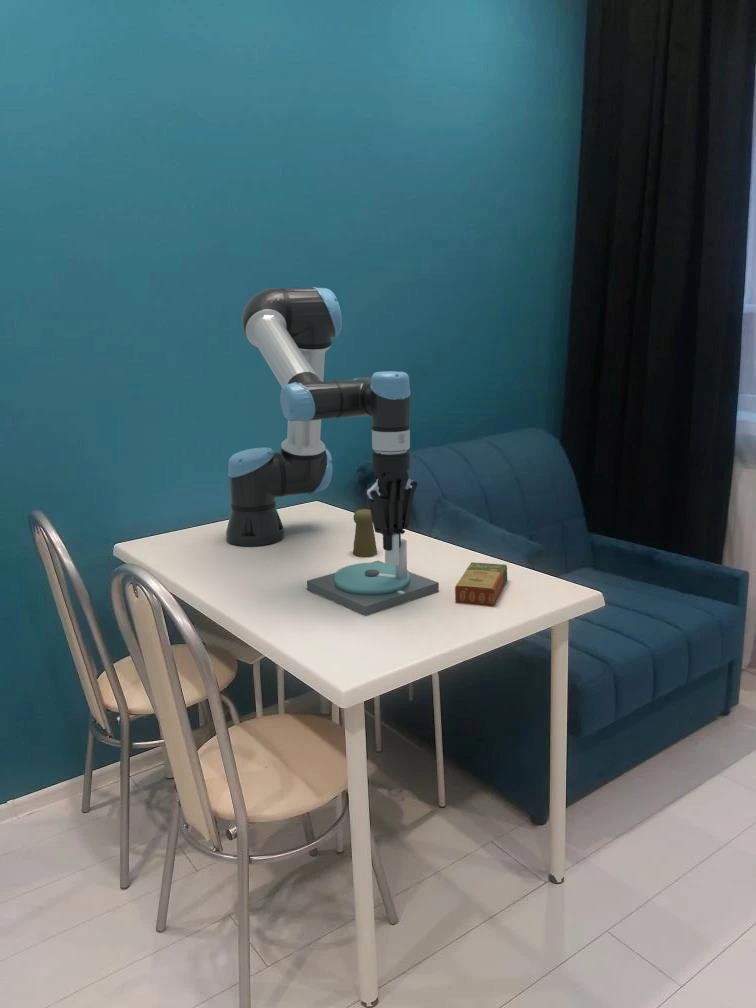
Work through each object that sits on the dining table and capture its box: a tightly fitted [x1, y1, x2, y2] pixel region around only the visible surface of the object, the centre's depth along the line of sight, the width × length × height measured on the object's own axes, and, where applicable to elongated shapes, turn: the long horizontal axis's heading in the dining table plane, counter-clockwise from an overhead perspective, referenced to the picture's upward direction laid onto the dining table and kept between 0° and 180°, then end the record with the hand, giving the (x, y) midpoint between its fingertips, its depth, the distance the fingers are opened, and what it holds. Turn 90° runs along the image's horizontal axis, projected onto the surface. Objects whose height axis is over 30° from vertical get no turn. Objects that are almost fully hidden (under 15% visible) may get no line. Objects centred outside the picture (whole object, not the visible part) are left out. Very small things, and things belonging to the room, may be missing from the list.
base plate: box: [306, 560, 440, 617], centre depth 166 cm, size 20×20×2 cm
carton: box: [454, 561, 508, 608], centre depth 165 cm, size 8×16×4 cm, turn 162°
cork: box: [352, 508, 378, 558], centre depth 190 cm, size 6×6×11 cm
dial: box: [334, 538, 410, 595], centre depth 165 cm, size 16×16×10 cm
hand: (392, 564), depth 160 cm, fingers closed
